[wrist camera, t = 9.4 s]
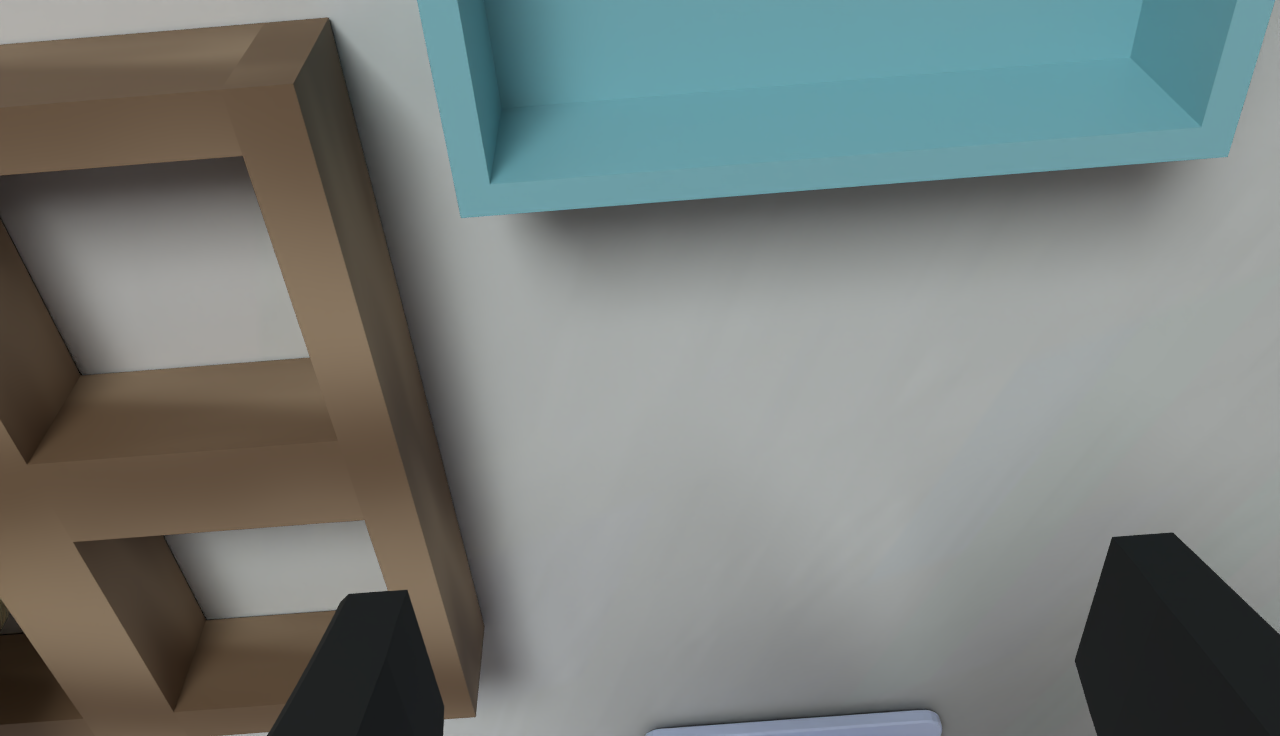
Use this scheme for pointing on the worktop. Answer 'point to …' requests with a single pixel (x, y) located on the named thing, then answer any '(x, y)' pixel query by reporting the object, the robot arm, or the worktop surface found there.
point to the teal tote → (821, 92)
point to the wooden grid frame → (209, 403)
